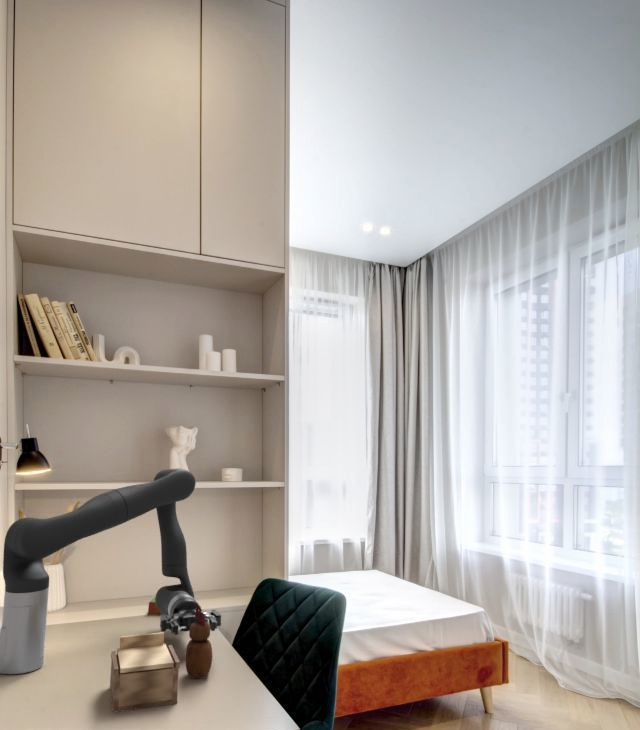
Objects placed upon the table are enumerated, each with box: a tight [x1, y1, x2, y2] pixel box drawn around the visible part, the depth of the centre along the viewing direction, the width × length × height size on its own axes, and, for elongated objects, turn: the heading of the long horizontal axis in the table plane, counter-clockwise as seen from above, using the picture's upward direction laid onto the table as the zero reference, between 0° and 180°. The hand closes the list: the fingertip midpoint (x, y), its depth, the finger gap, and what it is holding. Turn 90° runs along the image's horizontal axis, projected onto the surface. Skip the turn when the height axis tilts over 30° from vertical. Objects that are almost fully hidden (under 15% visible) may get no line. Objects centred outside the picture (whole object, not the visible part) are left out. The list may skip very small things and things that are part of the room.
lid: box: [116, 631, 174, 673], centre depth 122 cm, size 10×13×3 cm
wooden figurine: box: [185, 602, 213, 679], centre depth 132 cm, size 7×6×15 cm
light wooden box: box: [109, 644, 181, 713], centre depth 121 cm, size 12×13×8 cm
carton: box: [147, 597, 162, 616], centre depth 190 cm, size 8×16×4 cm, turn 179°
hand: (195, 628), depth 138 cm, fingers open, 8 cm apart
